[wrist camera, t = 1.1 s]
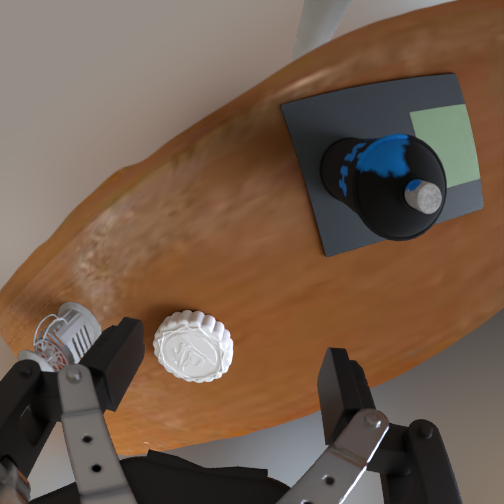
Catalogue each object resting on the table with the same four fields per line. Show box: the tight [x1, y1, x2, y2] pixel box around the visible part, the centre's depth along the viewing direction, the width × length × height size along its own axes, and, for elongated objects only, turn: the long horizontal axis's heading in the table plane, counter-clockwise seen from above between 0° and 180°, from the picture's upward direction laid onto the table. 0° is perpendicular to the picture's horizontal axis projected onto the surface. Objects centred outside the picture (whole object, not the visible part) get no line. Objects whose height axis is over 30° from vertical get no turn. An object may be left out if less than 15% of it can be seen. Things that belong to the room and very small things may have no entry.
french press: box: [18, 302, 102, 372], centre depth 34 cm, size 10×12×25 cm
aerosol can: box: [319, 134, 447, 241], centre depth 26 cm, size 8×8×20 cm
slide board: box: [280, 74, 484, 257], centre depth 34 cm, size 20×26×1 cm
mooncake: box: [153, 310, 233, 383], centre depth 44 cm, size 12×12×4 cm
